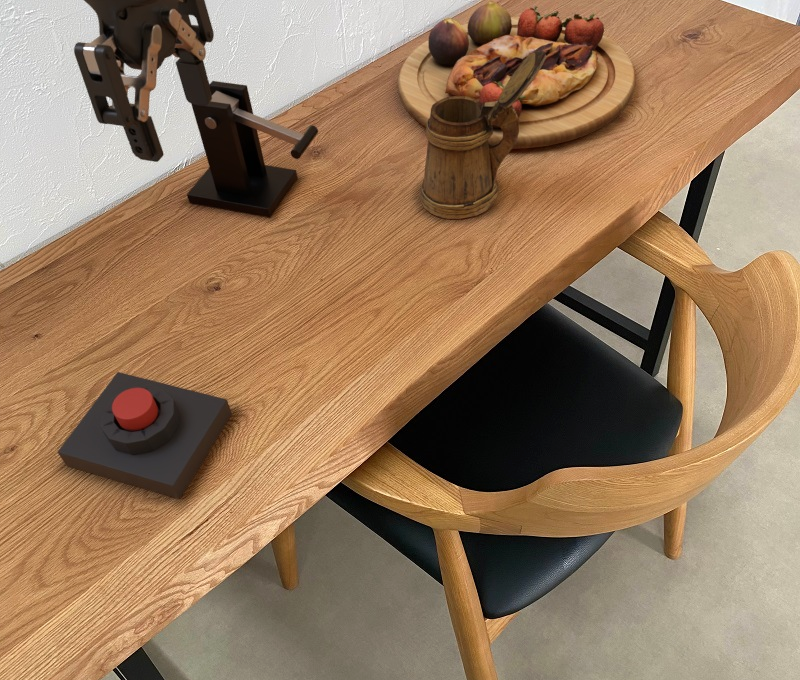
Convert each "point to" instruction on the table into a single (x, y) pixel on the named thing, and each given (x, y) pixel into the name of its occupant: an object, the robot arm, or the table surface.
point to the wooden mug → (471, 147)
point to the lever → (269, 126)
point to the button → (135, 409)
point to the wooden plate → (501, 56)
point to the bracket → (236, 160)
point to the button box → (148, 437)
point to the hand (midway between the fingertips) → (176, 129)
